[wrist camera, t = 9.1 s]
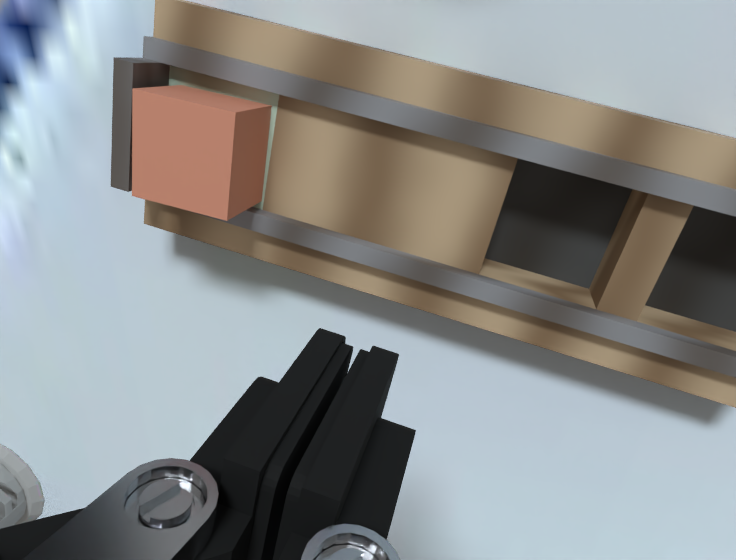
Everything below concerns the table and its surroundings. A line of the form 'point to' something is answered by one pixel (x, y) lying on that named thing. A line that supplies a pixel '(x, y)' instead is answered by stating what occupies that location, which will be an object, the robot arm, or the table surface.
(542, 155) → the track
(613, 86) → the table surface
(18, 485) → the french press
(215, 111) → the block
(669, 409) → the table surface
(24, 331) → the table surface
